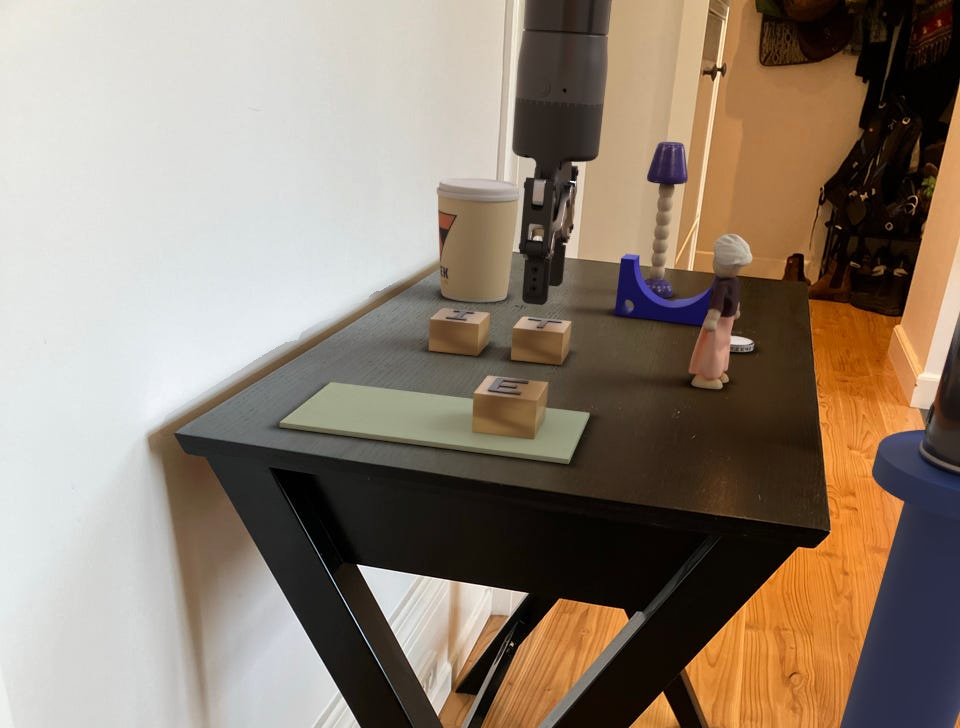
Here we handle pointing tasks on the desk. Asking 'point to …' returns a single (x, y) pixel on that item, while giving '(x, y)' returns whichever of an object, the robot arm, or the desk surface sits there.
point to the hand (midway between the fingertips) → (542, 293)
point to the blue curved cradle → (655, 298)
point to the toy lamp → (664, 208)
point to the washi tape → (741, 344)
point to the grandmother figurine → (720, 313)
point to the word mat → (429, 422)
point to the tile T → (540, 340)
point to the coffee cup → (476, 237)
